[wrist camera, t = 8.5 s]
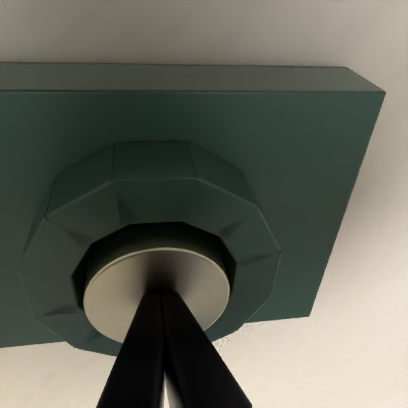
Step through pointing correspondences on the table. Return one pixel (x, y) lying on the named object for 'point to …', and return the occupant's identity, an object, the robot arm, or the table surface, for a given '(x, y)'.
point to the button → (153, 274)
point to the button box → (173, 180)
